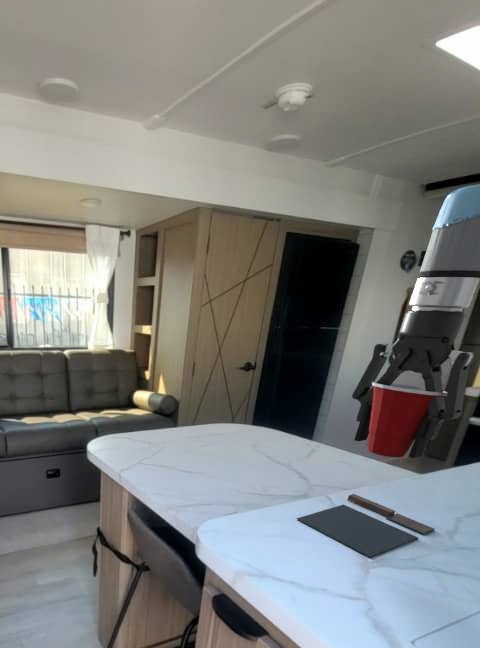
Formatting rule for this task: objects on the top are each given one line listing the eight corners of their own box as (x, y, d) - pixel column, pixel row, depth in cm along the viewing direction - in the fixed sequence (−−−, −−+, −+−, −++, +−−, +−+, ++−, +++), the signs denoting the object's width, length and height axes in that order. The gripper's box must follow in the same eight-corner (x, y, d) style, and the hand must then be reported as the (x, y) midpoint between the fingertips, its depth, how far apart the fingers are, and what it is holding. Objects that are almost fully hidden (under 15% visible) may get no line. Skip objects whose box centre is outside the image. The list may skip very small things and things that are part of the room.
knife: (344, 500, 90) (345, 496, 90) (355, 497, 92) (356, 492, 92) (422, 534, 78) (425, 529, 77) (433, 530, 79) (436, 525, 79)
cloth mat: (343, 505, 88) (343, 504, 88) (417, 538, 76) (418, 537, 76) (296, 519, 82) (296, 518, 82) (369, 558, 70) (370, 556, 70)
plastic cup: (433, 456, 72) (461, 387, 67) (406, 467, 66) (435, 393, 61) (368, 439, 80) (389, 377, 75) (340, 448, 74) (360, 381, 69)
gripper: (354, 307, 70) (318, 433, 80) (513, 312, 53) (443, 472, 63) (380, 308, 73) (343, 429, 83) (538, 313, 56) (468, 465, 66)
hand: (386, 447), depth 73 cm, fingers closed on plastic cup, 9 cm apart
